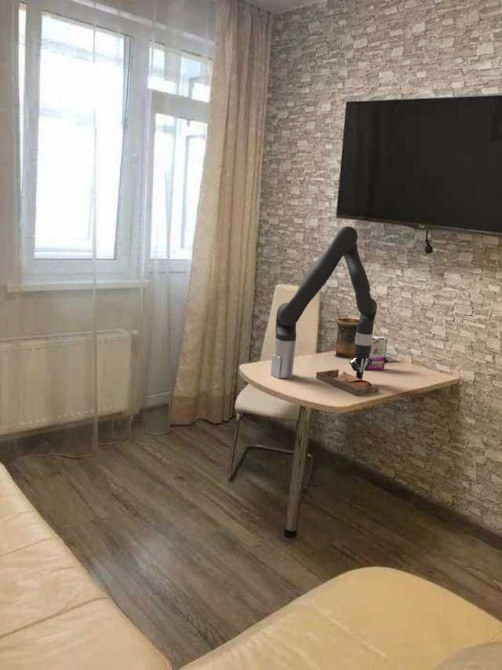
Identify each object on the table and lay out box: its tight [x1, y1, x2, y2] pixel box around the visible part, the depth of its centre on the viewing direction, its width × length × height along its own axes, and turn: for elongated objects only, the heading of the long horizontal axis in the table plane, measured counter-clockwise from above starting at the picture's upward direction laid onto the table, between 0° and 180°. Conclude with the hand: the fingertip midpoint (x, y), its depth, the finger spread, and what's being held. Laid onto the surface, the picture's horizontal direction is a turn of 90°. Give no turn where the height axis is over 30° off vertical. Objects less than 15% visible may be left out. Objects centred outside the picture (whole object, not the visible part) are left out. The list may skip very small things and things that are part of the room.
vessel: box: [333, 317, 360, 361], centre depth 295 cm, size 14×14×20 cm
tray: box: [315, 368, 380, 397], centre depth 246 cm, size 13×26×3 cm, turn 35°
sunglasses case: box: [334, 371, 373, 388], centre depth 248 cm, size 18×7×7 cm, turn 37°
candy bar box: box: [366, 335, 388, 371], centre depth 274 cm, size 11×5×16 cm, turn 101°
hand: (358, 379), depth 251 cm, fingers closed
